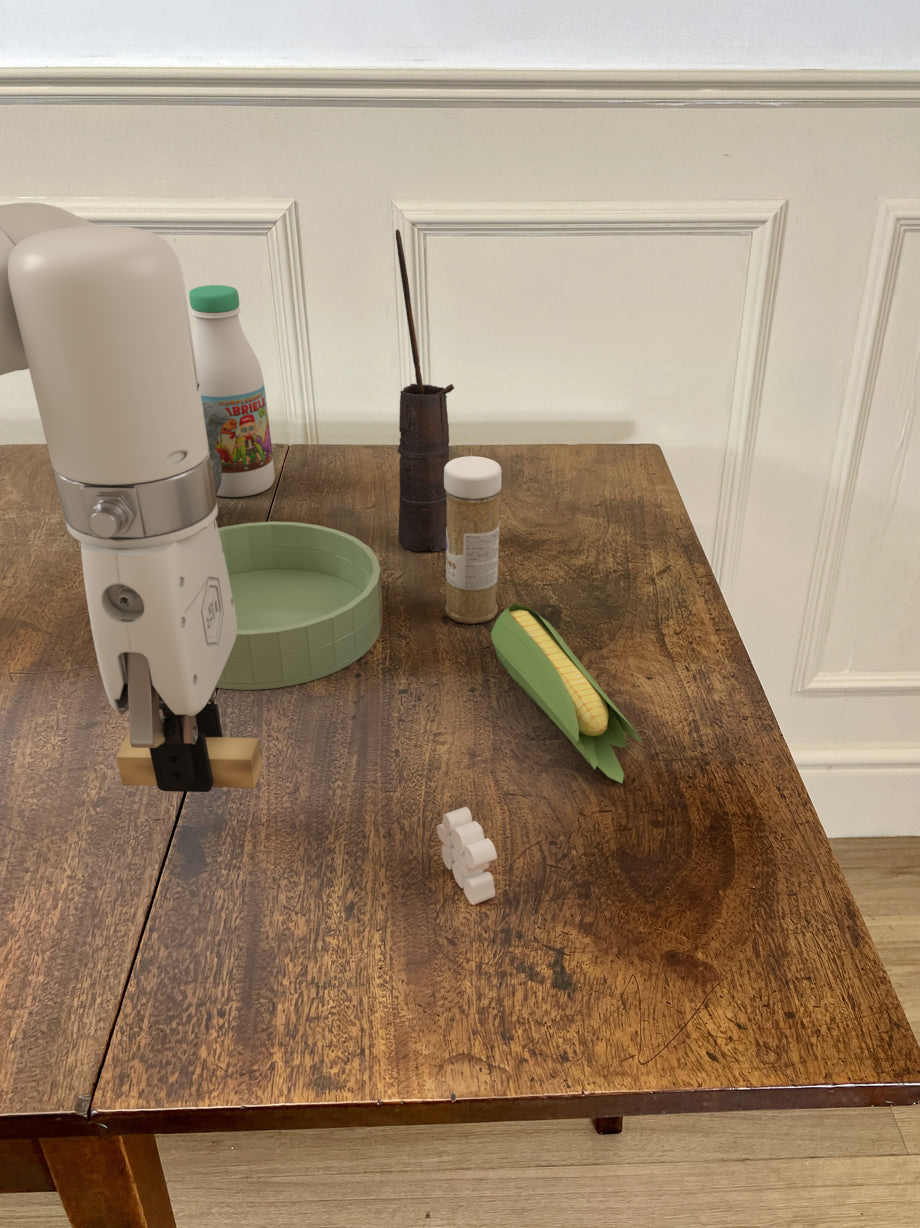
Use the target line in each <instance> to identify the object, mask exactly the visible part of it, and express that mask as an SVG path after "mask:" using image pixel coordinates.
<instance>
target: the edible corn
mask: <svg viewBox="0 0 920 1228" xmlns="http://www.w3.org/2000/svg"><path fill="white" fill-rule="evenodd" d="M489 634H490V637H491V641H492V644H493V647H494V649H495V656H496V658H497V659H498V661H499V662H500V664H501V666H502V667H503V669H505V671H506V672H507V673H508V675H510V677H511V678H512V679H513V680H514V681H515V682H516V684H518V686H519V687H520V688H521V689H522V690H523V691H524V692H525V693H526V695H528V697H529V698H530V699H531V700H532V701H533V702H534V703H535V704H536V706H538V707H539V709H540V710H541V711H542V712H543V713H544V714H545V715H546V716H547V717H548V718H549V719H550V720H551V721H552V722H553V723H554V724H555V725H556V727H557V728H558V729H559V730H561V732H562V733H563V734H564V735H565V736H566V737H567V738H568V740H569V741H570V742H571V743H572V744H573V746H574V747H575V748H576V749H577V751H578V752H579V753H580V754H581V755H582V757H583V758H584V759H585V760H586V761H587V763H588V765H590V766H591V768H592V769H593V770H596V768H597V767H598V768H599V770H600V771H602V772H603V773H604V774H605V776H607V777H608V778H610V779H612V780H614V781H616V782H618V783H620V784H623V782H624V776H625V774H624V771H623V769H622V766H621V763H620V762H619V759H618V757H617V755H616V753H615V751H614V749H613V747H619V748H626V749H627V747H628V746H627V741H626V734H627V735H628V736H630V737H632V738H634V739H635V740H636V741H638V742H642V743H644V740H643V739H642V738H641V736H640V735H639V734H638V732H637V731H636V730H635V728H634V727H633V725H632V724H631V723H630V722H629V721H628V720H627V718H626V717H625V716H624V715H623V714H622V712H621V711H620V710H619V709H618V707H617V706H616V705H615V703H614V702H613V701H612V700H611V698H610V697H608V695H607V694H606V693H605V692H604V691H603V689H602V688H601V687H600V686H599V684H598V683H597V682H596V680H595V679H594V678H593V676H592V675H591V674H590V672H589V671H588V670H587V669H586V668H585V667H584V665H583V664H582V662H581V661H580V660H579V659H578V657H577V656H576V655H575V654H574V652H573V651H572V650H571V649H570V647H569V645H568V644H567V642H565V640H564V639H563V638H562V636H561V635H560V634H559V632H557V630H556V629H555V628H554V626H553V625H552V624H551V623H550V622H549V621H548V620H547V619H545V618H543V616H541V615H540V614H538V613H537V612H536V611H535V610H533V608H531V607H529V606H528V605H525V604H523V603H519V602H515V603H511V604H509V605H508V607H507V608H506V609H505V610H503V611H502V612H501V613H500V615H499V616H498V617H497V619H496V621H495V622H494V625H493V626H492V629H491V632H490V633H489Z"/></svg>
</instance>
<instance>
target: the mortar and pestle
mask: <svg viewBox="0 0 920 1228" xmlns="http://www.w3.org/2000/svg"><path fill="white" fill-rule="evenodd" d="M202 406H203V413H204V419H205V426H206V433H207V440H208V446H209V453H210V459H211V466H212V473H213V480H214V486H215V493H216V494H217V492H218V490H219V487H220V485H221V478H222V465H221V458H220V454H219V453H218V452H217V451H216V450H215V446H216V443H217V441H218V438H219V435H220V433H221V430H222V427H223V425H224V424H225V423H226V422H228V420H229V418H230V414H229V413H228V411H227V410H226V409H225V408H223V407H222V406H220V405H218V404H216V403H214V402H209V401H205V402H203V403H202Z"/></svg>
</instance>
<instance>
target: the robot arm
mask: <svg viewBox="0 0 920 1228" xmlns="http://www.w3.org/2000/svg"><path fill="white" fill-rule="evenodd" d="M193 339H194V338H193V332H192V327H191V319H190V313H189V307H188V300H187V292H186V286H185V279H184V273H183V270H182V266H181V262H180V259H179V257H178V255H177V253H176V251H175V250H174V248H173V246H171V244H170V243H169V242H168V240H165V239H164V238H163V237H161V235H159V234H157V233H155V232H152V231H148V230H146V229H145V230H144V229H141V228H137V227H129V226H122V225H121V226H120V225H118V226H117V225H97V224H95V223H92V222H91V221H88V220H86V219H85V218H82V217H80V216H79V215H77V214H74V213H72V212H70V211H68V210H65V209H64V208H61V207H57V206H55V205H51V204H47V203H41V202H15V203H6V204H0V376H4V375H6V374H10V373H14V372H16V371H17V372H18V371H19V372H20V371H26V370H29V375H30V378H31V383H32V387H33V391H34V396H35V400H36V404H37V408H38V412H39V416H40V422H41V425H42V429H43V433H44V437H45V441H46V446H47V449H48V454H49V459H50V462H51V467H52V470H53V471H52V472H53V475H54V480H55V483H56V487H57V491H58V496H59V499H60V504H61V509H62V512H63V517H64V522H65V526H66V529H67V531H68V534H69V535H70V536H71V537H72V538H74V539H75V540H77V541H79V542H80V554H81V555H80V556H81V565H82V573H83V582H84V589H85V596H86V602H87V609H88V617H89V622H90V628H91V634H92V639H93V645H94V649H95V650H94V651H95V654H96V659H97V664H98V667H99V668H98V669H99V673H100V677H101V680H102V684H103V688H104V691H105V694H106V697H107V700H108V702H109V704H110V706H111V708H112V710H114V711H115V712H116V713H118V714H119V715H124V714H126V713H127V712H128V718H129V719H128V722H129V723H128V724H129V735H130V744H131V746H132V747H133V748H149V750H150V754H151V759H152V763H153V768H154V773H155V777H156V782H157V786H156V787H157V788H158V790H160V791H162V792H176V793H177V792H178V793H180V792H181V793H182V792H183V793H209V792H211V790H212V788H213V787H212V786H213V777H212V771H211V766H210V760H209V755H208V749H207V743H206V738H205V737H224V736H223V730H222V724H221V718H220V712H219V711H220V710H219V706H218V703H214V702H215V701H216V698H217V688H216V684H217V682H218V680H219V677H220V675H221V673H222V671H223V669H224V666H225V664H226V662H227V659H228V657H229V655H230V652H231V650H232V647H233V645H234V642H235V639H236V635H237V618H236V612H235V606H234V601H233V596H232V591H231V586H230V581H229V576H228V571H227V566H226V561H225V556H224V552H223V547H222V543H221V538H220V534H219V530H218V528H219V527H218V522H217V520H216V518H217V517H218V513H219V508H218V501H217V495H216V493H215V486H214V480H213V473H212V466H211V459H210V453H209V446H208V440H207V433H206V426H205V419H204V413H203V406H202V399H201V393H200V386H199V379H198V373H197V366H196V359H195V352H194V346H193ZM160 710H161V711H162V715H163V716H161V715H160V713H161V712H160Z"/></svg>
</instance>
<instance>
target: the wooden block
mask: <svg viewBox="0 0 920 1228" xmlns="http://www.w3.org/2000/svg"><path fill="white" fill-rule="evenodd" d="M205 738H206V743H207V749H208V755H209V760H210V766H211V771H212V777H213V786H212V788H227V789H229V788H231V789H255V788H256V786H257V783H258V779H259V778H260V774H261V771H262V768H263V761H262V755H261V753H262V752H261V747H260V746H261V745H260V740H259V737H236V736H235V737H232V736H230V737H229V736H223V737H205ZM115 759H116V765H117V768H118V772H119V776H120V779H121V781H120V782H121V785H122V786H131V787H135V786H136V787H137V786H138V787H158V786H157V782H156V777H155V773H154V768H153V763H152V759H151V754H150V750H149V748H133V747H132V746H131V744H130V734H128V735H126V736H125V739H124V740H123V742H122V744H121V746H120V748H119V750H118V752H117V754H116V755H115Z"/></svg>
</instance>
